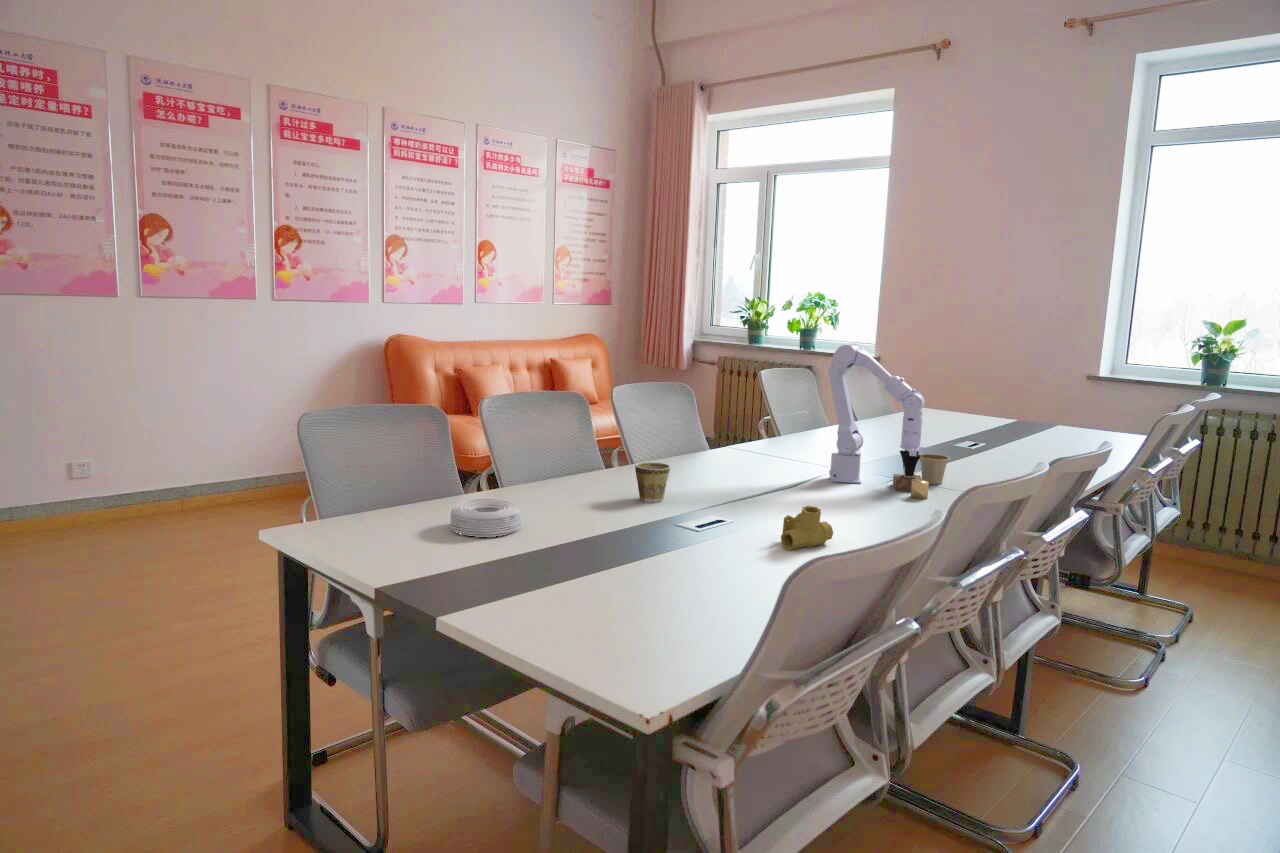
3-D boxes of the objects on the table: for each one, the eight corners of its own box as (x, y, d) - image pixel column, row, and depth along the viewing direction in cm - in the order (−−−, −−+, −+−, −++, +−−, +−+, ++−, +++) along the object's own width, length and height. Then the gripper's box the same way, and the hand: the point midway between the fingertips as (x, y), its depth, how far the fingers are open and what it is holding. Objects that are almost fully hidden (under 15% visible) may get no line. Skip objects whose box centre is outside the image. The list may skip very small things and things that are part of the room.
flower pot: (951, 486, 273) (953, 459, 271) (921, 485, 273) (923, 459, 272) (941, 479, 282) (943, 454, 281) (913, 479, 282) (915, 453, 281)
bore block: (895, 490, 265) (896, 479, 265) (892, 484, 273) (893, 473, 272) (922, 491, 264) (923, 480, 263) (918, 486, 272) (919, 475, 271)
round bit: (911, 499, 254) (912, 482, 254) (909, 495, 259) (910, 479, 258) (928, 500, 254) (929, 483, 253) (926, 496, 258) (927, 480, 257)
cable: (490, 516, 224) (490, 494, 224) (536, 529, 213) (536, 506, 213) (435, 530, 211) (435, 506, 210) (481, 544, 200) (481, 519, 199)
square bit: (903, 484, 267) (905, 465, 266) (902, 482, 270) (904, 463, 269) (913, 484, 266) (915, 466, 265) (912, 482, 269) (914, 464, 268)
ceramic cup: (665, 505, 240) (666, 470, 238) (631, 502, 242) (631, 468, 240) (673, 494, 252) (674, 461, 251) (640, 492, 254) (641, 459, 252)
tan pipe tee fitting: (833, 548, 206) (804, 532, 214) (838, 509, 202) (809, 494, 210) (794, 559, 199) (766, 542, 207) (798, 519, 196) (770, 503, 204)
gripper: (928, 436, 258) (924, 480, 260) (921, 429, 272) (918, 470, 274) (904, 435, 259) (900, 478, 261) (898, 427, 273) (895, 469, 275)
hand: (908, 474), depth 268 cm, fingers closed on square bit, 3 cm apart
